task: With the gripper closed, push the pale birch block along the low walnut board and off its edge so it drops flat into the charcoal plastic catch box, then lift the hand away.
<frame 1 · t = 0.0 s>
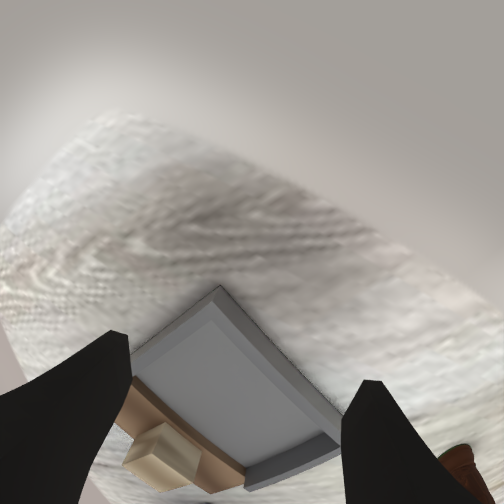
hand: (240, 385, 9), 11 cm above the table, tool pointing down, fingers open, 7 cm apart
chess piece: (452, 457, 23), on the table
catch box: (238, 399, 22), on the table
walnut board: (172, 434, 23), on the table
birch block: (168, 444, 22), point 1 cm above the table, touching walnut board
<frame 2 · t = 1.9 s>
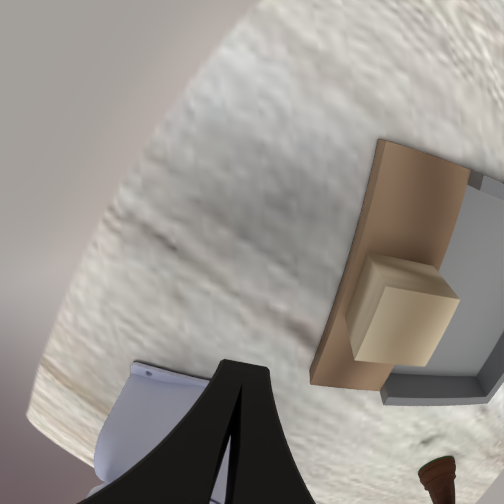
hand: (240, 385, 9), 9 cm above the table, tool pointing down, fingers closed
chess piece: (435, 465, 26), on the table
catch box: (478, 298, 17), on the table
walnut board: (383, 281, 17), on the table
birch block: (389, 292, 16), point 1 cm above the table, touching walnut board
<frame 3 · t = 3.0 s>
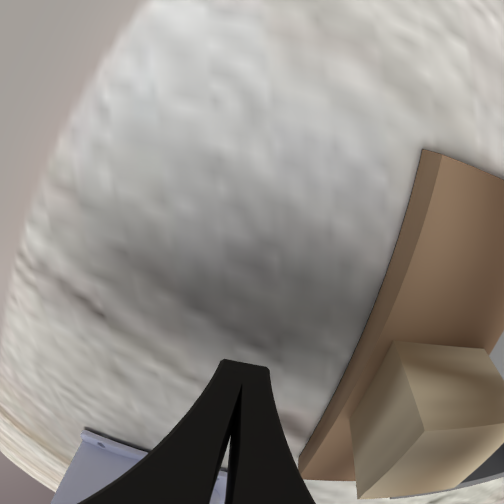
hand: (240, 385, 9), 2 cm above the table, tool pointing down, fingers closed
walnut board: (409, 364, 11), on the table
birch block: (418, 388, 10), point 1 cm above the table, touching walnut board
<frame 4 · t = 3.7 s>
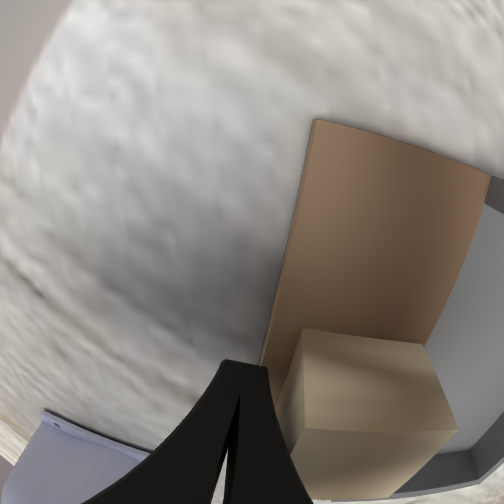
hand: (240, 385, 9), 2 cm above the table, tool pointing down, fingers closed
catch box: (482, 368, 11), on the table
walnut board: (331, 356, 11), on the table
birch block: (345, 383, 10), point 1 cm above the table, touching gripper
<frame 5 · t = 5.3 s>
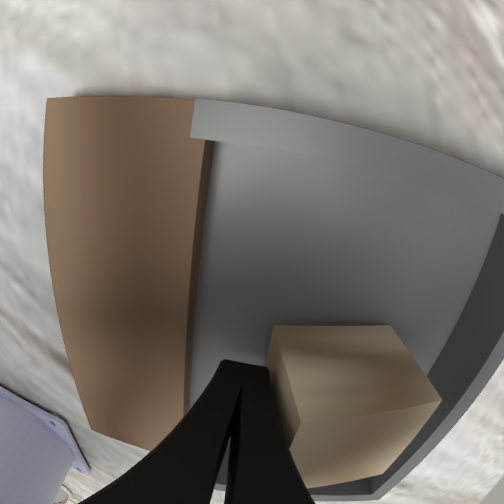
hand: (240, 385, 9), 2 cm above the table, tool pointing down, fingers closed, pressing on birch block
catch box: (333, 356, 11), on the table
walnut board: (130, 315, 11), on the table
birch block: (320, 372, 10), point 1 cm above the table, tilted 12°, touching gripper
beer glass: (50, 479, 24), on the table
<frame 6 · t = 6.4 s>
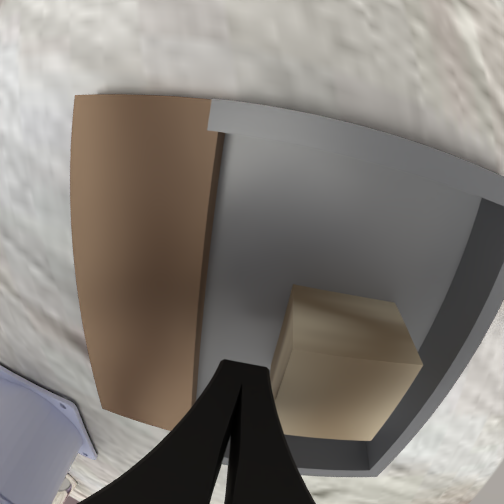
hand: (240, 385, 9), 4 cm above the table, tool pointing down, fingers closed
catch box: (330, 330, 12), on the table
walnut board: (145, 292, 12), on the table
birch block: (330, 336, 12), resting on catch box
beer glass: (56, 469, 25), on the table
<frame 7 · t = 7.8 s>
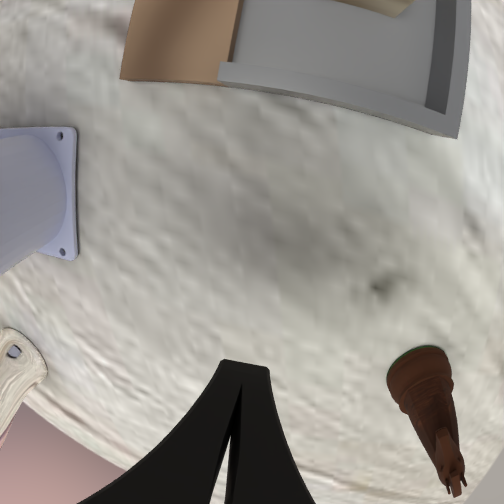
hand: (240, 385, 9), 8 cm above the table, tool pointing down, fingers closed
chess piece: (416, 370, 19), on the table
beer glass: (24, 352, 23), on the table
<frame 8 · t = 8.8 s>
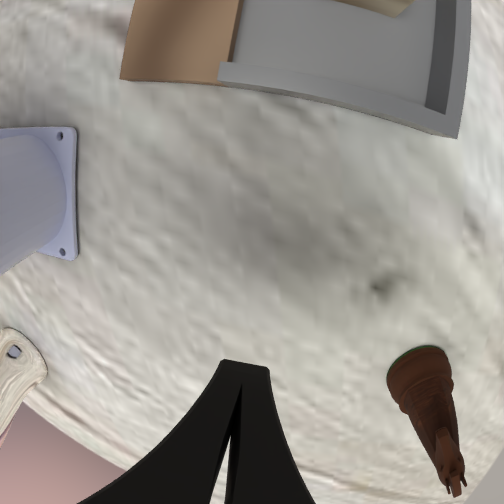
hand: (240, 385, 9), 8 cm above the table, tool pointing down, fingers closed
chess piece: (416, 370, 19), on the table
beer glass: (24, 352, 23), on the table
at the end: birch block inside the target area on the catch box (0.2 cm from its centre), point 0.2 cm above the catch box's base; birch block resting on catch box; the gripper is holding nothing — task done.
